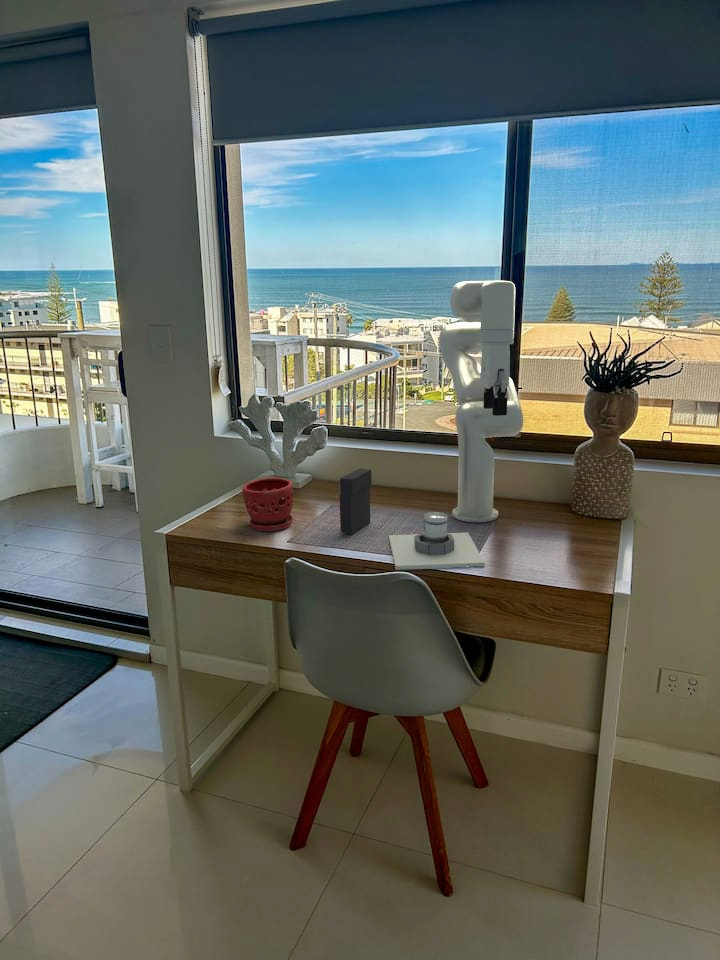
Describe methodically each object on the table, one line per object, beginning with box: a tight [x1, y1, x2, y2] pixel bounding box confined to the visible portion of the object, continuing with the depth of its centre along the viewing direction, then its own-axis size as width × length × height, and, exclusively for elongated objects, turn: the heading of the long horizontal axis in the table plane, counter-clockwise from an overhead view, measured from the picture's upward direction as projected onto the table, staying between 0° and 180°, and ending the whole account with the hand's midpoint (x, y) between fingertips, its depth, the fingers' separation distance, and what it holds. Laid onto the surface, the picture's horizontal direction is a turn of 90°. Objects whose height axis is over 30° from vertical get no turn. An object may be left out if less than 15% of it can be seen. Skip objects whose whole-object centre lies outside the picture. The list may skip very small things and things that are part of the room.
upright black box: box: [338, 468, 373, 536], centre depth 178 cm, size 11×4×15 cm, turn 152°
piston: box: [422, 511, 449, 544], centre depth 161 cm, size 6×6×8 cm
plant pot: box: [242, 477, 294, 532], centre depth 182 cm, size 13×13×12 cm
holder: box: [388, 532, 486, 571], centre depth 162 cm, size 20×20×4 cm
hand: (494, 411), depth 160 cm, fingers open, 9 cm apart
